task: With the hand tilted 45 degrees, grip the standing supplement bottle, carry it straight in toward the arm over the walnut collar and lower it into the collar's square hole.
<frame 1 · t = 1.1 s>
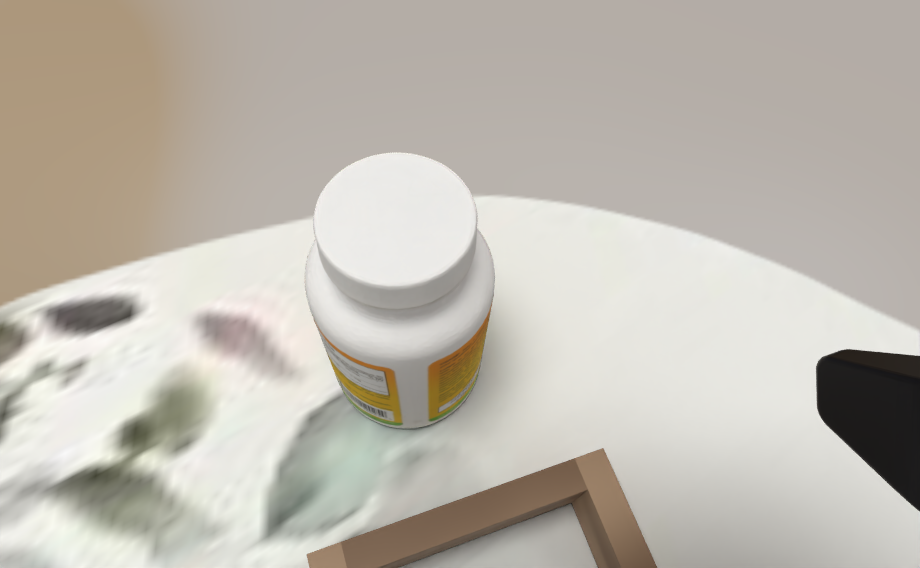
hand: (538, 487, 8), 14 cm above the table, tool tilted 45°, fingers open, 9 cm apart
supplement bottle: (408, 363, 24), on the table
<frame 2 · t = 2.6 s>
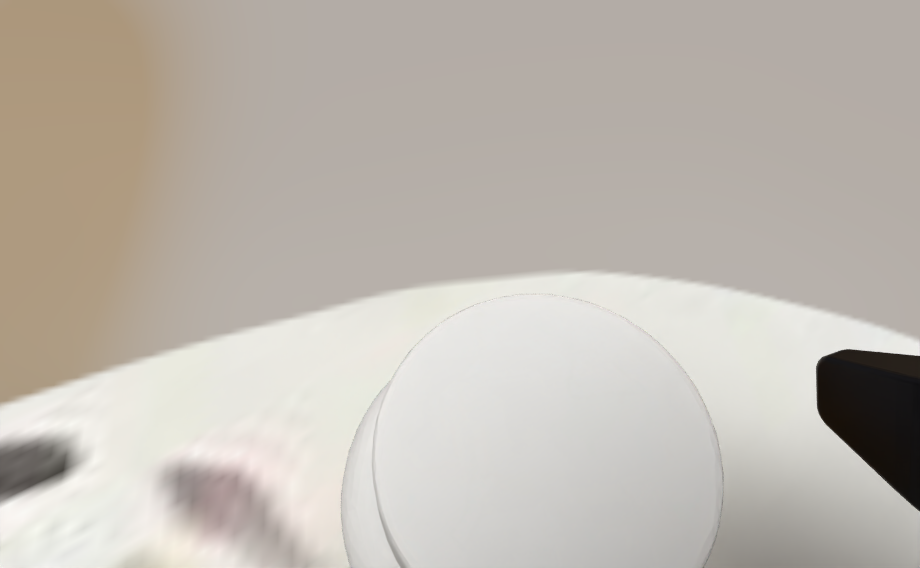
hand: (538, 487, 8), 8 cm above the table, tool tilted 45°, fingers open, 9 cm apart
supplement bottle: (483, 542, 16), on the table
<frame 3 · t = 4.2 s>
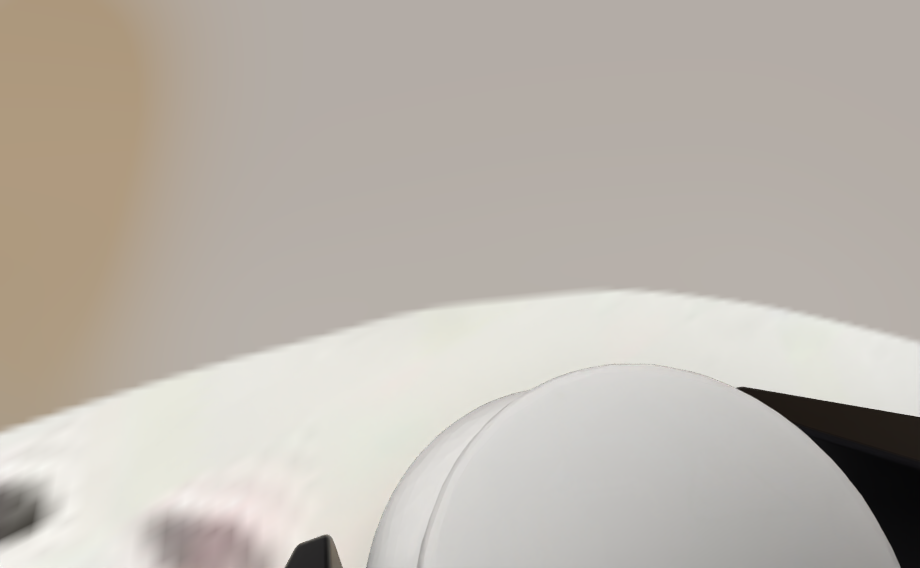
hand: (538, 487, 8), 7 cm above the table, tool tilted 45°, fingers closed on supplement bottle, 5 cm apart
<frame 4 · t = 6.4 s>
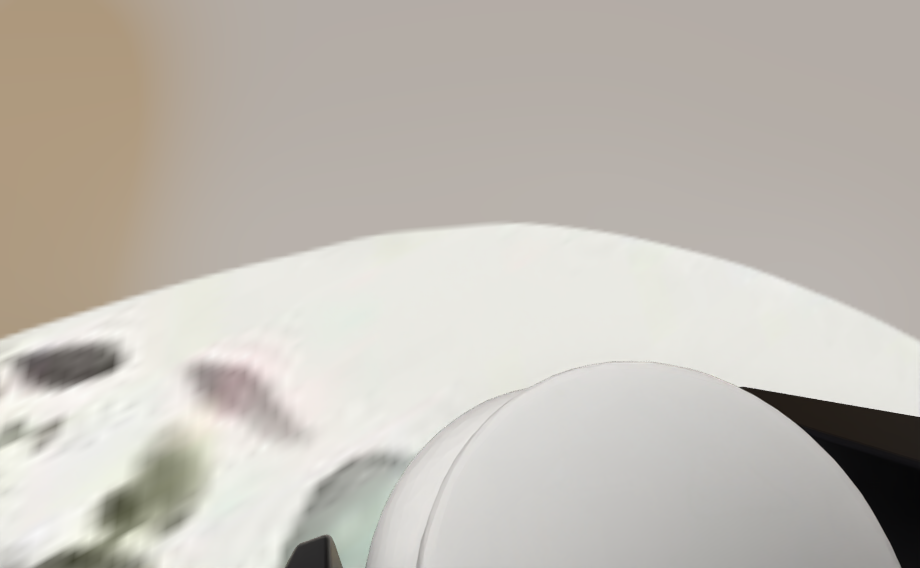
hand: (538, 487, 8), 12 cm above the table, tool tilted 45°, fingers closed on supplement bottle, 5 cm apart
when the fingers open (8 cm above the table, at t = 8.6 s): supplement bottle stays where it is, resting in walnut collar.
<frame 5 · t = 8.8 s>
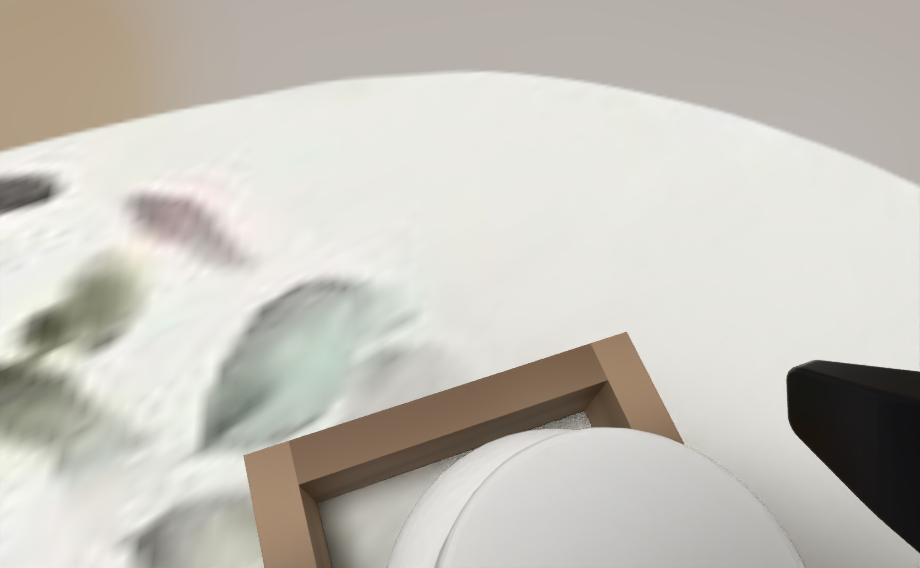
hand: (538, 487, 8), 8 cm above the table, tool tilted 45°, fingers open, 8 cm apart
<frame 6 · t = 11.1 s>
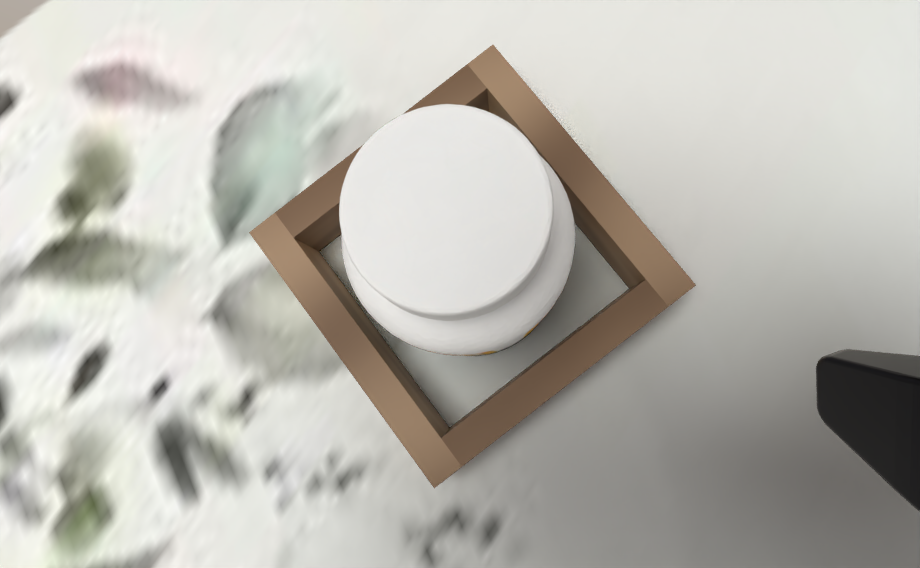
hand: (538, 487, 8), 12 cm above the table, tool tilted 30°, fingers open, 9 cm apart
walnut collar: (470, 269, 21), on the table
supplement bottle: (474, 275, 21), resting in walnut collar
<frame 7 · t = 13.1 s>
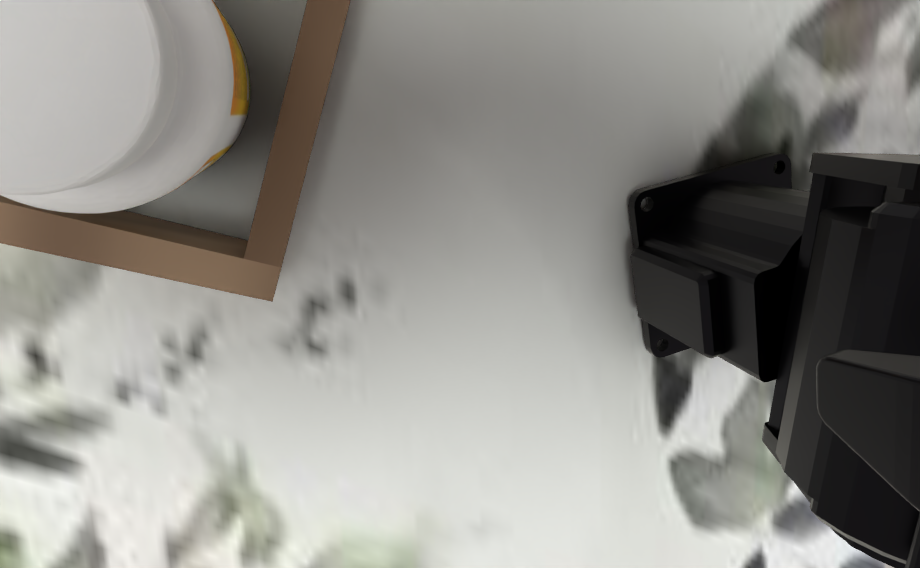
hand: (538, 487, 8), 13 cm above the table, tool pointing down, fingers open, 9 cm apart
walnut collar: (140, 77, 17), on the table
supplement bottle: (151, 81, 17), resting in walnut collar
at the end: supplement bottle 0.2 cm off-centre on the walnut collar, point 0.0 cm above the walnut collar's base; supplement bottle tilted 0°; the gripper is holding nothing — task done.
